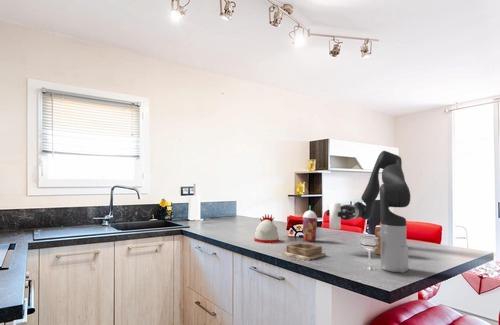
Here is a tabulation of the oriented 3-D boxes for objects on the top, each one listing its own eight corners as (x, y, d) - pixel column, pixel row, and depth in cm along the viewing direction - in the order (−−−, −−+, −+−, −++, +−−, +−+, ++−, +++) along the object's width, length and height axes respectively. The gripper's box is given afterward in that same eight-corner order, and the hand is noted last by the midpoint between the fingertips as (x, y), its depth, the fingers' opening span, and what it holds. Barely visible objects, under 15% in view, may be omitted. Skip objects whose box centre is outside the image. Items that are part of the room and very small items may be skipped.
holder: (325, 255, 142) (325, 246, 142) (309, 260, 132) (309, 250, 132) (299, 250, 152) (299, 241, 152) (282, 254, 141) (282, 245, 142)
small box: (374, 254, 147) (374, 226, 148) (376, 251, 152) (376, 225, 153) (393, 256, 143) (393, 228, 144) (394, 254, 148) (394, 226, 149)
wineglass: (381, 268, 122) (381, 237, 122) (375, 272, 117) (375, 239, 117) (364, 265, 126) (364, 235, 127) (357, 268, 121) (357, 237, 122)
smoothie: (319, 240, 178) (319, 205, 180) (314, 243, 171) (314, 206, 172) (305, 239, 182) (305, 204, 184) (300, 241, 175) (300, 205, 177)
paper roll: (342, 228, 150) (342, 203, 150) (337, 229, 146) (337, 203, 147) (332, 227, 153) (332, 202, 154) (327, 228, 149) (327, 203, 150)
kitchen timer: (277, 243, 167) (278, 215, 168) (252, 242, 169) (253, 214, 170) (279, 239, 181) (279, 213, 182) (256, 238, 183) (256, 212, 184)
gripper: (335, 204, 166) (319, 205, 153) (362, 205, 156) (347, 207, 144) (335, 218, 165) (319, 220, 153) (362, 220, 156) (347, 223, 143)
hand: (333, 214), depth 148 cm, fingers closed on paper roll, 5 cm apart
